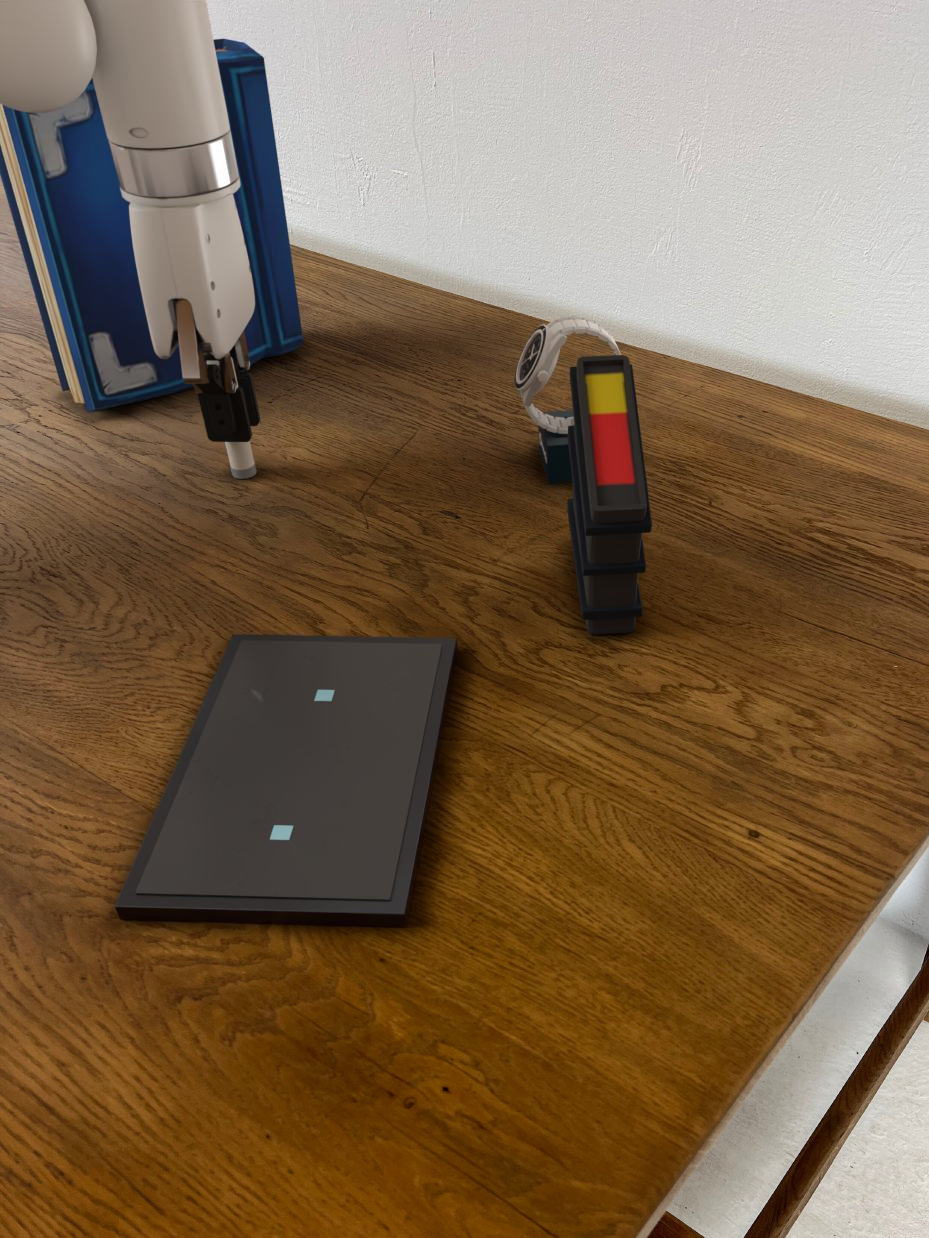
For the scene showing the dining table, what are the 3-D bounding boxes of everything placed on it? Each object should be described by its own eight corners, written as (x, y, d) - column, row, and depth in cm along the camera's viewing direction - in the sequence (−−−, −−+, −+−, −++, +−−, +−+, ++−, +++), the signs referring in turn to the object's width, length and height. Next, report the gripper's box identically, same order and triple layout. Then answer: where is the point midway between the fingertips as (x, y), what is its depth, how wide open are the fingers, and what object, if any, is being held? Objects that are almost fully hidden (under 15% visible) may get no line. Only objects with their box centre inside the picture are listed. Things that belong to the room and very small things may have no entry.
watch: (514, 451, 90) (507, 312, 83) (614, 443, 91) (617, 304, 84) (522, 486, 86) (516, 343, 79) (627, 477, 87) (631, 335, 80)
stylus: (229, 479, 88) (203, 364, 81) (235, 467, 89) (210, 354, 83) (253, 479, 87) (228, 365, 81) (259, 467, 89) (235, 354, 83)
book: (283, 328, 109) (228, 20, 92) (321, 352, 105) (270, 33, 88) (60, 394, 99) (-47, 60, 82) (93, 422, 95) (-13, 78, 78)
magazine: (616, 498, 81) (633, 349, 68) (634, 664, 77) (657, 540, 63) (563, 501, 81) (570, 352, 67) (579, 667, 76) (589, 544, 62)
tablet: (119, 919, 56) (112, 904, 55) (235, 646, 72) (231, 631, 71) (406, 927, 55) (404, 912, 54) (458, 650, 71) (456, 635, 70)
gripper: (156, 131, 79) (214, 386, 92) (74, 204, 68) (153, 484, 80) (263, 131, 79) (307, 387, 92) (200, 204, 68) (259, 485, 80)
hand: (235, 430), depth 86 cm, fingers closed on stylus, 1 cm apart
